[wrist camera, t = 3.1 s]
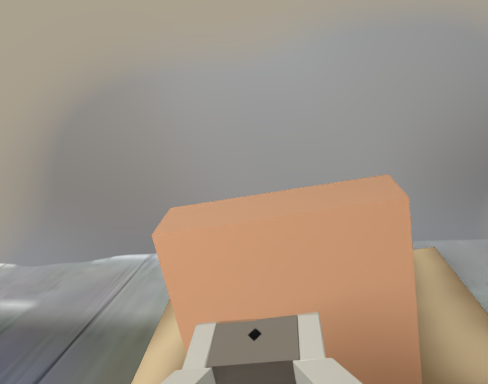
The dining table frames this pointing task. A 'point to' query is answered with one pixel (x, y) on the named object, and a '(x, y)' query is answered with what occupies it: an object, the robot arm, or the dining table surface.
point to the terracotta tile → (303, 269)
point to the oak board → (429, 326)
